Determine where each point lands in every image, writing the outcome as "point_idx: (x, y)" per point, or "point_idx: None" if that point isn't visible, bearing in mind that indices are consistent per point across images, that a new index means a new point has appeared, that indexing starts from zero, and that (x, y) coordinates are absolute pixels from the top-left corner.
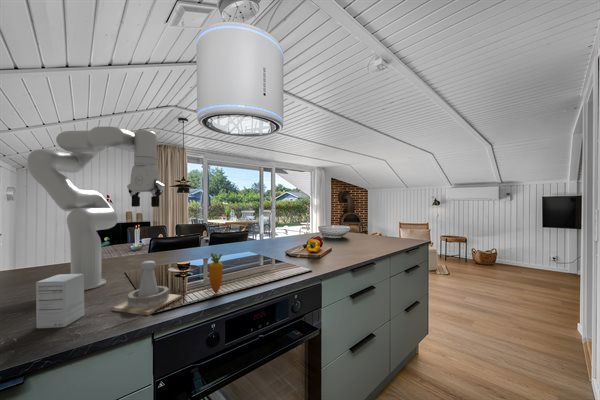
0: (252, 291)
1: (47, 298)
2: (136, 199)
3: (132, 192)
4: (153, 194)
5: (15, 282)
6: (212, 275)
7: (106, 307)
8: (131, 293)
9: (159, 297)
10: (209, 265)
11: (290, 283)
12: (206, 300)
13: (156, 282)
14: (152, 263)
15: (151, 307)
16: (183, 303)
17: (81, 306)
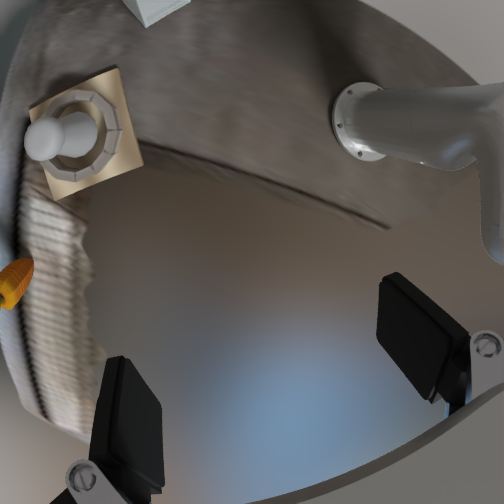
0: None
1: None
2: (418, 355)
3: (495, 375)
4: (91, 482)
5: None
6: (4, 268)
7: (150, 67)
8: (98, 102)
9: None
10: (2, 280)
11: (6, 360)
12: (13, 224)
13: (58, 154)
14: (24, 145)
15: None
16: (29, 185)
17: (138, 15)
